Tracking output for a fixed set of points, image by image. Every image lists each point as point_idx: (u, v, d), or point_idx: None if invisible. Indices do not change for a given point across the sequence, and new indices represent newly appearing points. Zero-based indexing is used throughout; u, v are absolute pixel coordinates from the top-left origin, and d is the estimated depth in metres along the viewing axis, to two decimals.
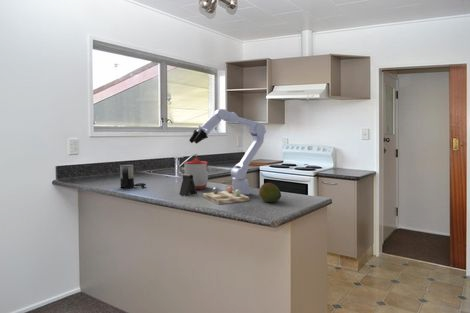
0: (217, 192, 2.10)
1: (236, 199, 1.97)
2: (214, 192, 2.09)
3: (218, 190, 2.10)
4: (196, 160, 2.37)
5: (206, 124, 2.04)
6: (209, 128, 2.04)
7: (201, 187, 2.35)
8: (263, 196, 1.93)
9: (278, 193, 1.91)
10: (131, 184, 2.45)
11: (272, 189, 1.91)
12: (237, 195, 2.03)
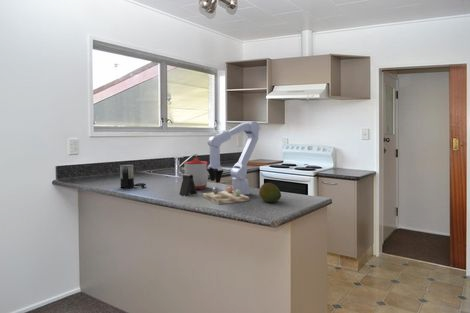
0: (217, 192, 2.10)
1: (236, 199, 1.97)
2: (214, 192, 2.09)
3: (218, 190, 2.10)
4: (196, 160, 2.37)
5: (212, 161, 2.06)
6: (217, 161, 2.07)
7: (201, 187, 2.35)
8: (263, 196, 1.93)
9: (278, 193, 1.91)
10: (131, 184, 2.45)
11: (272, 189, 1.91)
12: (237, 195, 2.03)
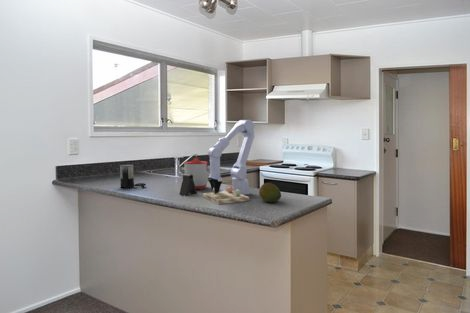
0: None
1: (236, 199, 1.97)
2: (214, 192, 2.09)
3: None
4: (196, 160, 2.37)
5: (213, 171, 2.07)
6: (217, 172, 2.07)
7: (201, 187, 2.35)
8: (263, 196, 1.93)
9: (278, 193, 1.91)
10: (131, 184, 2.45)
11: (272, 189, 1.91)
12: (237, 195, 2.03)
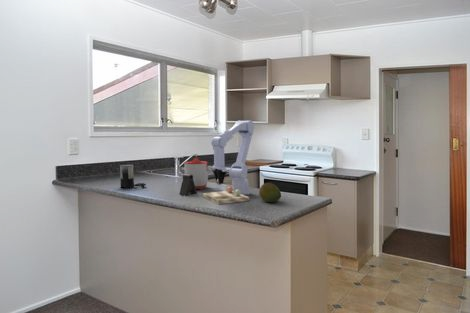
0: None
1: (236, 199, 1.97)
2: (218, 183, 2.03)
3: None
4: (196, 160, 2.37)
5: (217, 162, 2.01)
6: (222, 162, 2.01)
7: (201, 187, 2.35)
8: (263, 196, 1.93)
9: (278, 193, 1.91)
10: (131, 184, 2.45)
11: (272, 189, 1.91)
12: (237, 195, 2.03)
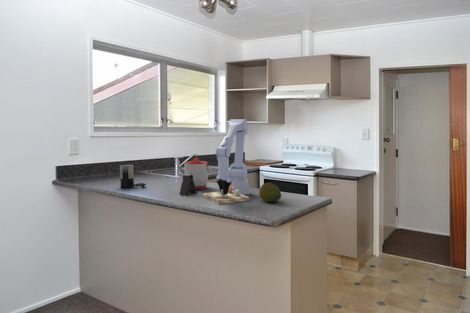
0: (225, 194, 1.99)
1: (236, 199, 1.97)
2: (222, 194, 1.98)
3: None
4: (196, 160, 2.37)
5: (221, 172, 1.96)
6: (226, 172, 1.97)
7: (201, 187, 2.35)
8: (263, 196, 1.93)
9: (278, 193, 1.91)
10: (131, 184, 2.45)
11: (272, 189, 1.91)
12: (237, 195, 2.03)
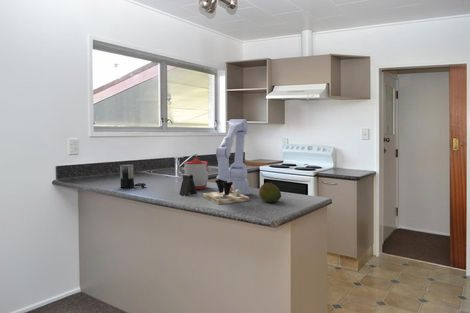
0: None
1: (236, 199, 1.97)
2: None
3: None
4: (196, 160, 2.37)
5: (221, 172, 1.96)
6: (226, 173, 1.97)
7: (201, 187, 2.35)
8: (263, 196, 1.93)
9: (278, 193, 1.91)
10: (131, 184, 2.45)
11: (272, 189, 1.91)
12: (237, 195, 2.03)
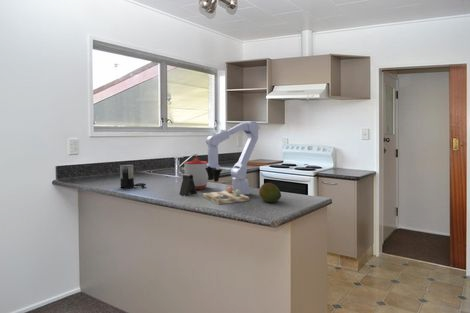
0: None
1: (236, 199, 1.97)
2: None
3: None
4: (196, 160, 2.37)
5: (211, 160, 2.07)
6: (216, 160, 2.07)
7: (201, 187, 2.35)
8: (263, 196, 1.93)
9: (278, 193, 1.91)
10: (131, 184, 2.45)
11: (272, 189, 1.91)
12: (237, 195, 2.03)
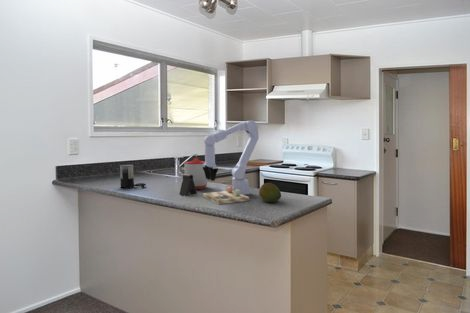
0: None
1: (236, 199, 1.97)
2: None
3: None
4: (196, 160, 2.37)
5: (207, 159, 2.10)
6: (212, 160, 2.11)
7: (201, 187, 2.35)
8: (263, 196, 1.93)
9: (278, 193, 1.91)
10: (131, 184, 2.45)
11: (272, 189, 1.91)
12: (237, 195, 2.03)
